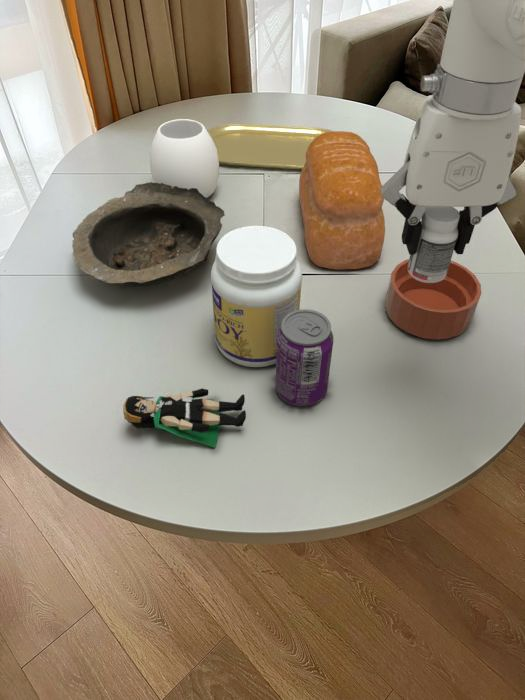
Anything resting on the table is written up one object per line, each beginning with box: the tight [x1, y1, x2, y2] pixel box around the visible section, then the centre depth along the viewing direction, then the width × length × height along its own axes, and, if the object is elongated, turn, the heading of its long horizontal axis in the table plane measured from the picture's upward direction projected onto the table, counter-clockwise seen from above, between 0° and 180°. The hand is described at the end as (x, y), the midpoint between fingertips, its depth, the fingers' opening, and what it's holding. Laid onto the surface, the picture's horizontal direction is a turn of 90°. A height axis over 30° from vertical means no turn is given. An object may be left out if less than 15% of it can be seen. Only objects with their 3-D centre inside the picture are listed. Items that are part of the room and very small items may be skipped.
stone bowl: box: [71, 181, 226, 287], centre depth 94 cm, size 25×25×9 cm
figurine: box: [122, 388, 247, 449], centre depth 72 cm, size 8×6×15 cm
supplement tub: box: [210, 225, 303, 368], centre depth 78 cm, size 12×12×17 cm
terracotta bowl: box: [384, 258, 482, 341], centre depth 86 cm, size 13×13×6 cm
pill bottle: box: [407, 207, 460, 283], centre depth 66 cm, size 5×5×8 cm
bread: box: [298, 130, 386, 271], centre depth 99 cm, size 14×26×15 cm, turn 2°
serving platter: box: [206, 123, 335, 171], centre depth 125 cm, size 19×35×2 cm, turn 84°
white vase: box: [149, 118, 220, 198], centre depth 108 cm, size 13×13×14 cm
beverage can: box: [274, 308, 334, 407], centre depth 73 cm, size 7×7×12 cm
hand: (433, 246), depth 66 cm, fingers closed on pill bottle, 4 cm apart
